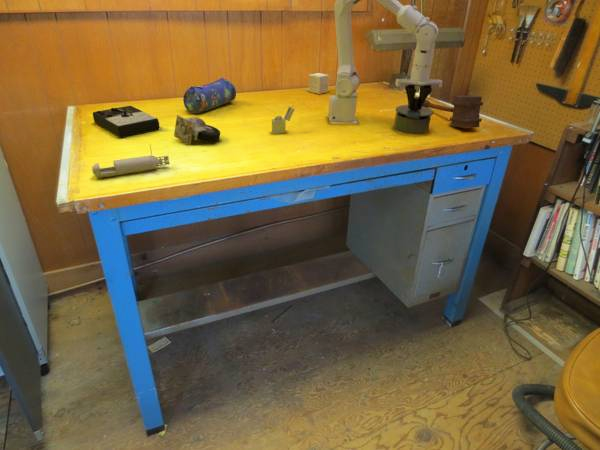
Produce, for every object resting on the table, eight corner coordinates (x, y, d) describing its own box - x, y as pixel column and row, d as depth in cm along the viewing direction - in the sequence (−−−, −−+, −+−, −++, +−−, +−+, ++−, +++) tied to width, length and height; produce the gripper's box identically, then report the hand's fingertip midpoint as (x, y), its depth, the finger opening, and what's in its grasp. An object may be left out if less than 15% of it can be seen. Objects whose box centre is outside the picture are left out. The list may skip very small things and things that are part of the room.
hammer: (464, 128, 139) (467, 97, 136) (412, 119, 169) (414, 93, 165) (481, 127, 141) (485, 96, 137) (427, 118, 170) (429, 92, 167)
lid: (400, 118, 132) (403, 102, 130) (391, 107, 142) (393, 92, 140) (437, 119, 133) (441, 102, 130) (425, 108, 143) (428, 93, 141)
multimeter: (132, 115, 144) (130, 101, 142) (160, 129, 133) (158, 114, 130) (93, 123, 136) (90, 107, 134) (120, 138, 125) (116, 122, 122)
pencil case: (200, 116, 146) (197, 88, 141) (181, 112, 149) (178, 85, 144) (238, 103, 162) (237, 77, 158) (220, 99, 166) (219, 74, 161)
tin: (398, 135, 136) (401, 119, 133) (390, 125, 145) (392, 109, 142) (432, 136, 136) (435, 119, 134) (421, 125, 146) (424, 109, 143)
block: (406, 131, 139) (408, 119, 137) (403, 127, 142) (405, 115, 140) (418, 131, 139) (420, 119, 137) (414, 127, 142) (416, 115, 140)
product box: (328, 92, 182) (329, 74, 178) (319, 94, 178) (320, 76, 175) (317, 89, 186) (318, 72, 182) (308, 91, 182) (309, 74, 178)
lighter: (273, 134, 133) (273, 109, 129) (271, 132, 134) (271, 107, 130) (294, 132, 135) (294, 107, 131) (292, 130, 137) (292, 105, 132)
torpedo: (95, 182, 99) (88, 156, 96) (93, 174, 103) (87, 149, 99) (171, 169, 107) (168, 145, 103) (167, 163, 110) (164, 139, 107)
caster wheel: (223, 147, 128) (200, 152, 120) (195, 132, 132) (172, 136, 124) (227, 126, 125) (204, 130, 117) (199, 112, 129) (175, 114, 121)
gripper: (402, 67, 126) (395, 112, 133) (449, 68, 127) (440, 112, 134) (396, 62, 132) (390, 106, 139) (441, 63, 133) (432, 106, 140)
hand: (414, 109), depth 137 cm, fingers closed on lid, 2 cm apart
